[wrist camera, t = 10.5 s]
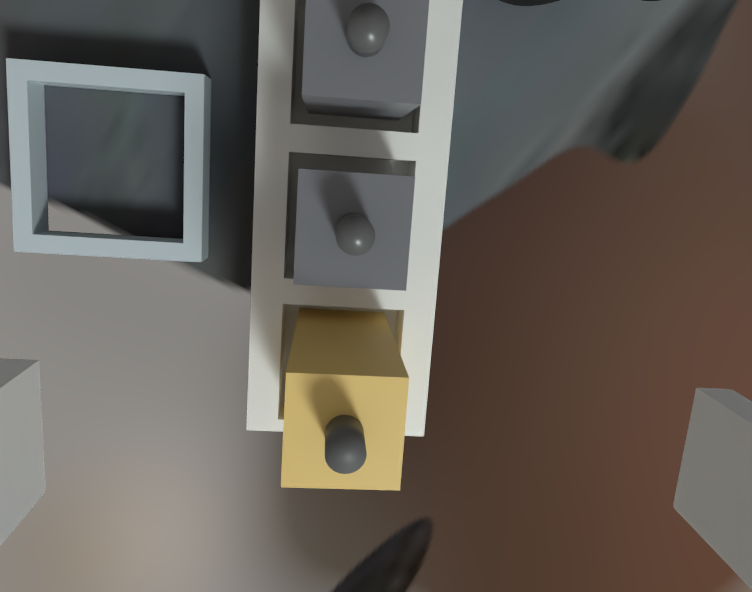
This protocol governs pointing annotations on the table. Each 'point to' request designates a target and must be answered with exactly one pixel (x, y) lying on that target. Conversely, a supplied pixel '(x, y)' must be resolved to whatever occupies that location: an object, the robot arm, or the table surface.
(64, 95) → the table surface
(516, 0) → the mug
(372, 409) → the plug
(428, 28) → the strip
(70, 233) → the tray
